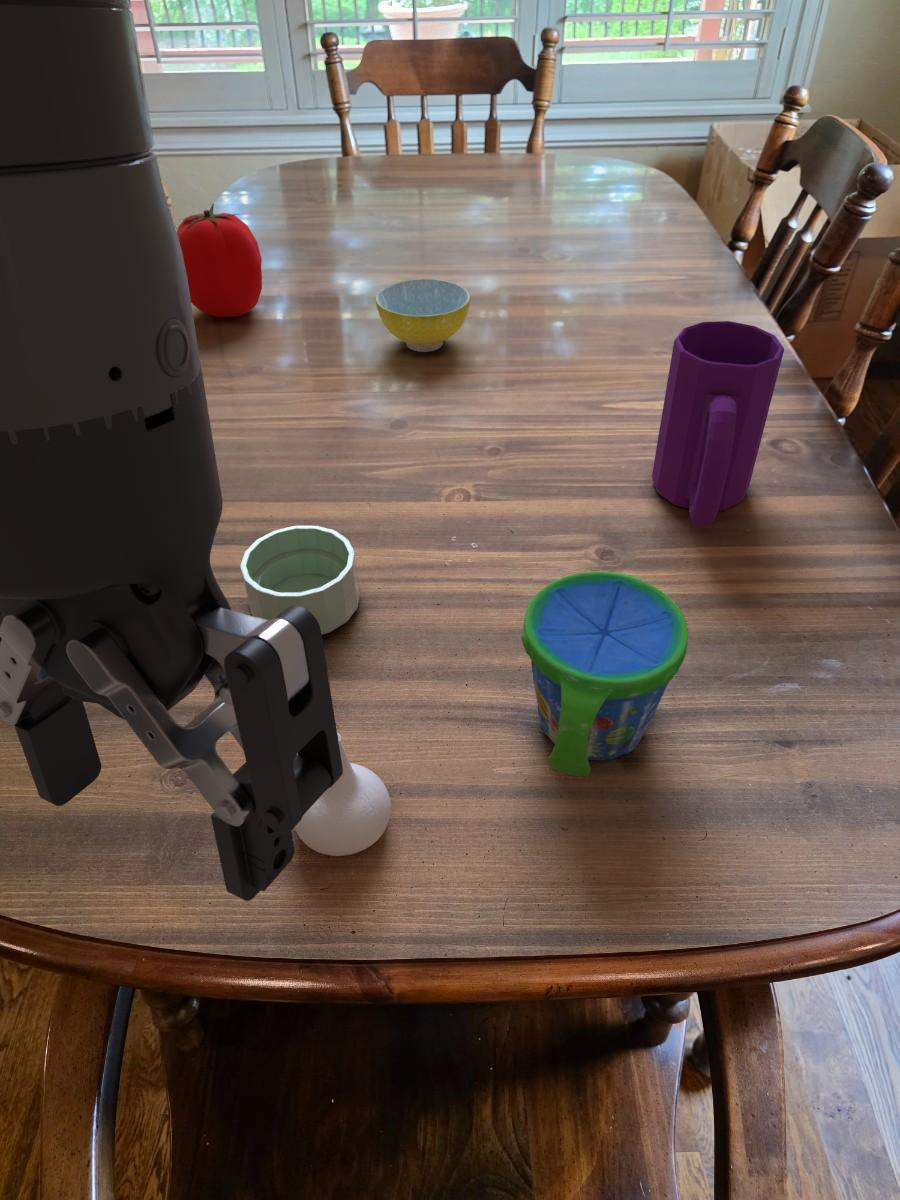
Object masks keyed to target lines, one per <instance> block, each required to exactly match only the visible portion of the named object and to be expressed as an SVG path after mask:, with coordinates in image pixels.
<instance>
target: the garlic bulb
mask: <svg viewBox="0 0 900 1200" xmlns="http://www.w3.org/2000/svg"><path fill="white" fill-rule="evenodd" d="M337 735H338V742H339V748H340V754H341V761H342V767H343V774H342V776H341V777H340V778H339V779H338V780H337V781H336V782H335V783H334V785H333V786H332V787H330V788H328V789H327V790H326V791H325V792H324V793H323V794H322V796H321V797H320V798H319V799H318V800H317V801H316V802H315V803H314V804H313V805H312V806H311V808H310V809H309V810H308V811H307V812H306V813H305V814H304V815H303V816H302V819H301V821H300V822H299V823H298V824H297V825H296V826H295V827H294V828H293V829H294V831H295V832H296V834H297V836H298V838H299V839H300V840H301V842H302V843H304V844H305V845H306V846H307V847H308V848H310V849H312V850H313V851H315V852H317V853H320V854H322V855H326V856H331V857H343V856H349V855H355V854H357V853H360V852H362V851H365V850H367V849H368V848H370V847H371V846H372V845H374V844H375V843H376V842H377V841H379V839H380V838H381V837H382V836H383V834H384V833H385V831H386V830H387V827H388V825H389V824H390V819H391V811H392V804H391V798H390V797H391V796H390V794H389V791H388V789H387V787H386V785H385V784H384V782H383V780H382V779H381V778H380V776H378V775H377V774H376V773H375V772H374V771H372V770H371V769H369V768H367V767H366V766H363V765H361V764H357V763H353V762H350V759H349V757H348V754H347V751H346V748H345V746H344V744H343V742H342V735H341V733H339V732H337Z"/></svg>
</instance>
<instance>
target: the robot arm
mask: <svg viewBox="0 0 900 1200" xmlns="http://www.w3.org/2000/svg"><path fill="white" fill-rule="evenodd" d="M130 9H132V2H131V0H0V719H1V720H2V721H3V722H5V723H7V724H8V725H13V726H14V729H15V732H16V734H17V735H16V736H17V738H18V740H19V743H20V746H21V749H22V751H23V755H24V758H25V760H26V764H27V766H28V767H29V768H28V769H29V771H30V774H31V777H32V780H33V783H34V786H35V788H36V791H37V794H38V796H39V798H40V799H42V800H44V801H46V802H48V803H49V804H52V805H54V806H56V807H61V806H64V805H66V804H67V803H69V802H70V801H71V800H72V799H74V798H75V797H76V796H77V795H79V794H80V793H81V792H82V791H83V790H85V789H86V788H87V787H88V786H90V785H91V784H92V783H94V782H95V781H96V780H97V779H98V777H99V776H100V774H101V771H102V762H101V759H100V756H99V755H100V754H99V751H98V747H97V745H96V742H95V738H94V734H93V731H92V727H91V724H90V720H89V717H88V715H87V711H86V707H85V704H84V703H91V704H97V705H100V706H101V707H102V708H104V709H106V710H107V711H109V712H110V713H112V714H113V715H115V716H116V717H118V718H120V719H122V720H124V721H125V722H126V723H127V725H128V726H129V727H130V728H131V730H132V731H133V733H134V734H135V735H136V736H137V738H138V740H140V742H141V743H142V745H143V746H144V747H145V749H146V750H147V751H148V752H149V754H150V755H151V756H152V758H153V759H154V761H155V762H156V763H157V764H158V765H159V766H160V767H162V768H164V769H166V770H174V769H180V770H182V771H183V772H184V773H185V775H187V777H188V779H190V781H191V782H192V783H193V785H194V787H196V789H197V790H198V792H200V795H202V797H203V798H204V799H205V801H206V803H208V805H209V806H210V807H211V809H212V810H213V811H214V812H213V813H212V814H211V815H210V819H211V824H212V828H213V829H212V830H213V834H214V837H215V843H216V848H217V852H218V857H219V860H220V867H221V870H222V875H223V880H224V885H225V889H226V891H227V893H229V894H231V895H233V896H235V897H237V898H239V899H241V900H243V901H245V902H250V901H251V900H253V899H255V897H256V896H257V895H258V894H259V893H260V892H265V891H267V889H268V888H269V887H270V886H271V884H272V883H274V881H275V880H276V878H278V877H279V875H280V874H281V873H282V872H283V870H284V869H285V868H286V867H288V865H289V864H290V863H291V862H292V860H293V858H294V855H295V852H296V850H295V845H294V840H293V838H294V836H293V829H295V828H294V827H295V826H296V825H297V824H298V823H299V822H300V821H301V819H302V816H303V815H304V814H305V813H306V812H307V811H308V810H309V809H310V808H311V806H312V805H313V804H314V803H315V802H316V801H317V800H318V799H319V798H320V797H321V796H322V794H323V793H324V792H325V791H326V790H327V789H328V788H330V787H332V786H333V785H334V783H335V782H336V781H337V780H338V779H339V778H340V777H341V776H342V774H343V767H342V761H341V754H340V748H339V742H338V735H337V733H338V730H337V724H336V718H335V711H334V704H333V697H332V691H331V684H330V679H329V673H328V667H327V660H326V655H325V647H324V641H323V634H321V629H320V625H319V623H318V621H317V620H316V618H315V617H314V616H313V614H312V613H311V612H309V611H308V610H307V609H305V608H303V607H301V606H290V607H288V608H287V609H286V610H285V611H283V612H282V613H281V614H279V615H278V616H277V617H275V618H274V619H271V620H266V619H262V618H258V617H254V616H252V614H251V615H250V614H246V613H244V612H239V611H235V610H232V608H231V605H230V602H229V601H228V599H227V598H226V595H225V593H224V592H223V591H222V588H221V587H220V586H219V583H218V580H217V579H216V577H215V574H214V572H213V568H212V566H211V554H212V549H213V544H214V541H215V537H216V533H217V529H218V527H219V524H220V522H221V521H220V520H221V518H222V514H223V504H224V503H223V494H222V488H221V482H220V477H219V476H220V475H219V469H218V463H217V457H216V450H215V446H214V438H213V432H212V426H211V419H210V414H209V407H208V400H207V394H206V388H205V381H204V374H203V369H202V363H201V358H200V351H199V346H198V339H197V333H196V327H195V320H194V319H195V318H194V313H193V306H192V303H191V299H190V293H189V286H188V280H187V274H186V269H185V264H184V259H183V254H182V250H181V246H180V243H179V239H178V235H177V229H176V225H175V222H174V219H173V216H172V212H171V209H170V206H169V203H168V198H167V194H166V192H165V187H164V184H163V181H162V177H161V173H160V167H159V161H158V158H157V154H156V153H154V152H153V151H151V150H152V149H153V148H154V147H155V139H154V134H153V127H152V120H151V115H150V110H149V103H148V97H147V91H146V84H145V79H144V74H143V73H144V72H143V67H142V61H141V54H140V49H139V42H138V37H137V31H136V24H135V18H134V13H133V11H131V10H130ZM204 676H205V677H206V679H207V680H208V681H209V683H210V684H211V686H212V688H213V691H214V697H213V701H212V703H211V704H210V705H209V706H208V707H207V708H205V709H204V710H203V711H202V712H201V713H199V714H198V715H197V716H196V717H194V718H193V719H192V720H191V721H189V722H188V723H187V724H186V725H184V726H183V725H181V724H179V723H177V721H176V720H175V719H174V718H173V716H172V715H171V713H170V712H169V711H170V710H171V709H173V707H175V706H176V705H177V704H179V703H180V702H181V701H183V700H184V699H185V698H187V697H188V696H189V695H190V694H191V693H192V692H194V690H196V688H197V687H198V686H199V684H200V682H201V681H202V679H203V678H204ZM228 732H229V733H230V734H231V735H232V736H233V738H234V739H235V741H236V742H237V743H238V745H239V746H240V748H241V749H242V750H243V754H244V758H245V762H244V763H243V764H242V765H241V766H240V767H239V768H237V770H236V771H234V772H233V773H232V772H231V770H230V768H229V767H228V766H227V765H226V763H225V762H224V761H223V759H222V758H221V756H220V755H219V754H218V752H217V742H218V740H220V739H221V738H222V737H223V736H225V735H226V734H227V733H228Z"/></svg>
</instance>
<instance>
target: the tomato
mask: <svg viewBox="0 0 900 1200" xmlns="http://www.w3.org/2000/svg"><path fill="white" fill-rule="evenodd" d="M214 207H215V203H212V204H211V205H210V208H209V209H205V210H203V213H198V214H191V215H190V216H188V217H185V218H182V219H181V223H180V224H179V225H178V227H177V229H176V232H177V235H178V239H179V243H180V246H181V250H182V254H183V259H184V264H185V269H186V274H187V280H188V286H189V293H190V299H191V305H193V306H194V307H195V308H196V309H197V310H199V311H201V312H203V313H206V314H207V315H210V316H213V317H216V318H231V317H240V316H242V315H245V314H247V313H249V312H251V311H252V310H253V309H254V308H255V307H256V306H257V304H258V303H259V300H260V296H261V292H262V289H263V271H262V260H263V259H262V256H261V251H260V247H259V243H258V241H257V239H256V238H255V236H254V234H253V233H252V231H251V229H250V227H249V226H248V225H247V224H246V222H244V221H243V220H241V219H240V218H239V217H238V216H237V215H239V213H235V214H234V213H228V212H221V213H216V214H215V213H214Z"/></svg>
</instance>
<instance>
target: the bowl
mask: <svg viewBox="0 0 900 1200" xmlns="http://www.w3.org/2000/svg"><path fill="white" fill-rule="evenodd" d="M375 303H376V304H375V305H376V309H377V312H378V315H379V317H380V319H381V322H382V324H383V325H384V327H385V328H386V329H387V330H388V331H389V332H390V333H391V334H392V335H393V336H394V337H396V338H397V339H399V340H401V341H402V342H405V344H406V347H407V348H408V350H409V349H410V350H411V351H414V352H417V353H430V352H435V351H437V350H439V349H441V348H442V346H443V343H444V341H446V340H448V339H450V338H451V337H452V336H454V335H455V334H456V333H457V332H458V331H459V330H460V329H461V327H462V326H463V324H464V323H465V321H466V319H467V317H468V314H469V313H468V312H469V309H470V305H471V295H470V292H469V291H468V290H467V289H466V288H465V287H463V286H462V285H460V284H457V283H455V282H453V281H449V280H443V279H438V278H437V279H435V278H415V279H407V280H402V281H398V282H394V283H392V284H389V285H387V286H385V287H383V288H382V289H381V290H379V291H378V292H377V294H376V295H375Z"/></svg>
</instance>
